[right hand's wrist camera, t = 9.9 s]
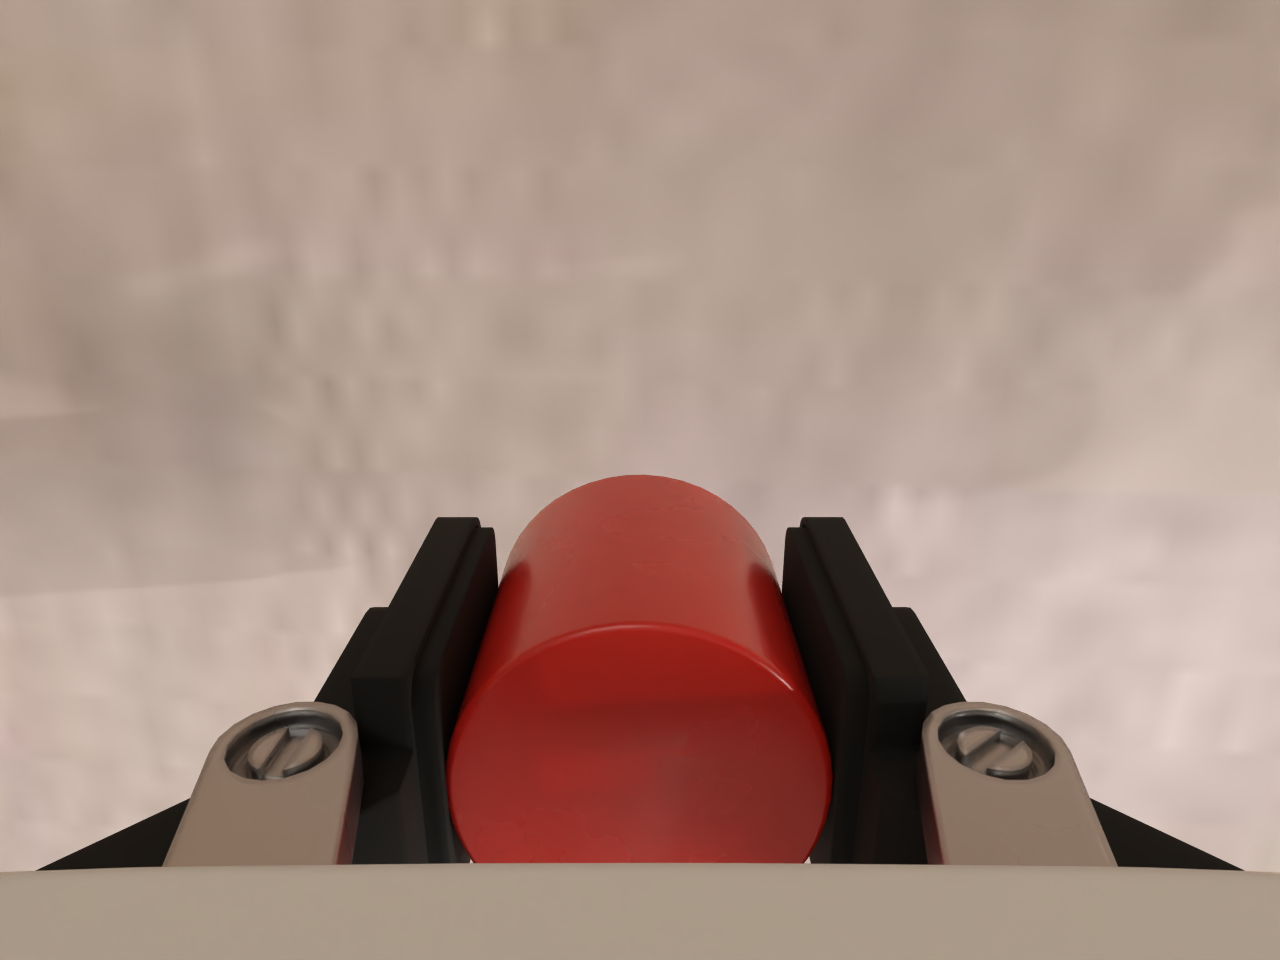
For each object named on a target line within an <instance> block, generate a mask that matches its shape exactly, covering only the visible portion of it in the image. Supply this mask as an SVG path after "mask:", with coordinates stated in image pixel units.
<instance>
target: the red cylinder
mask: <svg viewBox="0 0 1280 960" xmlns="http://www.w3.org/2000/svg"><path fill="white" fill-rule="evenodd" d="M832 786H833V767H832V757H831V752H830V748H829V744H828V740H827V737H826V733H825V730H824V727H823V724H822V720H821V717H820V714H819V711H818V708H817V705H816V701H815V698H814V695H813V692H812V689H811V686H810V682H809V679H808V676H807V673H806V670H805V666H804V663H803V660H802V657H801V654H800V651H799V647H798V644H797V641H796V638H795V635H794V632H793V628H792V625H791V622H790V619H789V616H788V612H787V609H786V606H785V603H784V600H783V597H782V593H781V590H780V587H779V584H778V581H777V578H776V574H775V571H774V568H773V565H772V562H771V559H770V557H769V555H768V552H767V550H766V548H765V546H764V544H763V542H762V541H761V539H760V537H759V536H758V534H757V533H756V531H755V530H754V529H753V527H752V526H751V525H750V524H749V523H748V521H747V520H746V519H745V518H744V517H743V516H742V515H741V514H740V513H739V512H737V511H736V510H735V509H734V508H733V507H732V506H731V505H729V504H728V503H726V502H725V501H723V500H722V499H721V498H719V497H718V496H716V495H714V494H712V493H710V492H708V491H706V490H704V489H702V488H700V487H698V486H695V485H692V484H690V483H687V482H684V481H680V480H676V479H672V478H667V477H661V476H651V475H625V476H618V477H611V478H606V479H602V480H598V481H595V482H591V483H588V484H586V485H583V486H581V487H578V488H576V489H574V490H571V491H570V492H568V493H566V494H564V495H563V496H561V497H559V498H558V499H556V500H555V501H553V502H552V503H551V504H549V505H548V506H547V507H545V508H544V509H543V510H542V511H541V512H540V513H539V514H538V515H537V516H536V517H535V518H534V519H533V520H532V521H531V522H530V523H529V524H528V525H527V527H526V528H525V529H524V531H523V532H522V533H521V535H520V536H519V537H518V539H517V541H516V543H515V545H514V547H513V548H512V550H511V552H510V555H509V558H508V561H507V563H506V566H505V569H504V572H503V575H502V578H501V582H500V585H499V588H498V591H497V594H496V597H495V600H494V604H493V607H492V610H491V613H490V616H489V619H488V622H487V626H486V629H485V632H484V635H483V638H482V641H481V644H480V648H479V651H478V654H477V657H476V660H475V663H474V666H473V670H472V673H471V676H470V679H469V682H468V685H467V688H466V692H465V695H464V698H463V701H462V704H461V707H460V710H459V714H458V717H457V720H456V723H455V726H454V729H453V732H452V736H451V739H450V742H449V747H448V752H447V757H446V787H447V797H448V807H449V812H450V815H451V819H452V822H453V826H454V829H455V831H456V833H457V835H458V837H459V839H460V841H461V844H462V846H463V848H464V849H465V851H466V852H467V854H468V855H469V857H470V858H471V860H472V861H473V863H789V864H804V862H805V861H806V860H807V859H808V857H809V855H810V854H811V852H812V850H813V848H814V847H815V845H816V843H817V842H818V840H819V837H820V835H821V832H822V830H823V827H824V825H825V822H826V819H827V816H828V812H829V807H830V803H831V798H832Z"/></svg>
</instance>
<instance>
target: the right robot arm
mask: <svg viewBox="0 0 1280 960" xmlns="http://www.w3.org/2000/svg"><path fill="white" fill-rule="evenodd" d="M497 591H498V574H497V558H496V543H495V533H494V529H493V528H481V525H480V521H479V519H478V518H477V517H438V518H437V519H436V520H435V522H434V524H433V526H432V528H431V529H430V531H429V533H428V535H427V537H426V539H425V540H424V542H423V544H422V546H421V548H420V550H419V551H418V553H417V555H416V557H415V559H414V561H413V563H412V564H411V566H410V568H409V570H408V572H407V574H406V575H405V577H404V579H403V581H402V583H401V585H400V587H399V588H398V590H397V592H396V594H395V596H394V598H393V599H392V601H391V603H390V605H389V607H373V608H370V609H369V610H368V611H367V612H366V613H365V615H364V617H363V618H362V620H361V622H360V624H359V625H358V627H357V629H356V630H355V632H354V634H353V636H352V637H351V639H350V641H349V642H348V644H347V646H346V648H345V649H344V651H343V653H342V654H341V656H340V658H339V660H338V661H337V663H336V665H335V666H334V668H333V670H332V672H331V673H330V675H329V677H328V678H327V680H326V682H325V684H324V685H323V687H322V689H321V690H320V692H319V694H318V696H317V697H316V699H315V701H314V702H295V703H289V704H284V705H279V706H274V707H271V708H268V709H266V710H263V711H260V712H257V713H254V714H252V715H250V716H248V717H247V718H245V719H243V720H241V721H239V722H238V723H236V724H234V725H233V726H232V727H230V728H229V729H228V730H227V731H226V732H225V733H223V734H222V735H221V736H220V737H219V738H218V739H217V741H216V742H215V744H214V745H213V747H212V748H211V750H210V752H209V754H208V756H207V759H206V761H205V764H204V766H203V768H202V771H201V773H200V776H199V778H198V781H197V783H196V785H195V788H194V790H193V793H192V795H191V798H189V799H187V800H185V801H183V802H181V803H179V804H177V805H175V806H172V807H170V808H168V809H166V810H164V811H162V812H160V813H158V814H155V815H153V816H151V817H149V818H147V819H145V820H143V821H140V822H138V823H136V824H134V825H132V826H130V827H128V828H126V829H123V830H121V831H119V832H117V833H115V834H113V835H111V836H109V837H106V838H104V839H102V840H100V841H98V842H96V843H94V844H91V845H89V846H87V847H85V848H83V849H81V850H79V851H77V852H74V853H72V854H70V855H68V856H66V857H64V858H62V859H60V860H57V861H55V862H53V863H51V864H49V865H47V866H45V867H42V868H40V869H38V870H36V871H19V872H0V960H1280V872H1261V871H1244V870H1242V869H1240V868H1238V867H1236V866H1234V865H1232V864H1229V863H1227V862H1225V861H1223V860H1221V859H1219V858H1217V857H1215V856H1212V855H1210V854H1208V853H1206V852H1204V851H1202V850H1200V849H1197V848H1195V847H1193V846H1191V845H1189V844H1187V843H1185V842H1183V841H1180V840H1178V839H1176V838H1174V837H1172V836H1170V835H1168V834H1166V833H1163V832H1161V831H1159V830H1157V829H1155V828H1153V827H1151V826H1149V825H1146V824H1144V823H1142V822H1140V821H1138V820H1136V819H1134V818H1131V817H1129V816H1127V815H1125V814H1123V813H1121V812H1119V811H1117V810H1114V809H1112V808H1110V807H1108V806H1106V805H1104V804H1102V803H1100V802H1097V801H1095V800H1093V799H1091V798H1089V795H1088V793H1087V790H1086V788H1085V785H1084V783H1083V781H1082V778H1081V776H1080V773H1079V771H1078V768H1077V766H1076V764H1075V761H1074V759H1073V756H1072V754H1071V752H1070V750H1069V748H1068V747H1067V745H1066V744H1065V742H1064V741H1063V739H1062V738H1061V737H1060V736H1059V735H1058V734H1057V733H1055V732H1054V731H1053V730H1052V729H1051V728H1050V727H1048V726H1047V725H1046V724H1044V723H1042V722H1041V721H1039V720H1037V719H1035V718H1033V717H1032V716H1030V715H1028V714H1026V713H1023V712H1020V711H1017V710H1014V709H1012V708H1009V707H1006V706H1001V705H996V704H991V703H985V702H966V700H965V698H964V696H963V695H962V693H961V691H960V690H959V688H958V686H957V684H956V683H955V681H954V679H953V678H952V676H951V674H950V672H949V671H948V669H947V667H946V666H945V664H944V662H943V660H942V659H941V657H940V655H939V654H938V652H937V650H936V648H935V647H934V645H933V643H932V642H931V640H930V638H929V636H928V635H927V633H926V631H925V630H924V628H923V626H922V624H921V623H920V621H919V619H918V618H917V616H916V614H915V613H914V611H913V610H912V609H911V608H908V607H892V606H891V604H890V602H889V600H888V598H887V597H886V595H885V593H884V591H883V589H882V587H881V586H880V584H879V582H878V580H877V578H876V576H875V574H874V573H873V571H872V569H871V567H870V565H869V563H868V562H867V560H866V558H865V556H864V554H863V552H862V550H861V549H860V547H859V545H858V543H857V541H856V539H855V538H854V536H853V534H852V532H851V530H850V528H849V526H848V525H847V523H846V521H845V519H844V518H843V517H804V518H802V520H801V523H800V527H789V528H787V531H786V537H785V551H784V567H783V582H782V597H783V600H784V603H785V606H786V609H787V612H788V616H789V619H790V622H791V625H792V628H793V632H794V635H795V638H796V641H797V644H798V647H799V651H800V654H801V657H802V660H803V663H804V666H805V670H806V673H807V676H808V679H809V682H810V686H811V689H812V692H813V695H814V698H815V701H816V705H817V708H818V711H819V714H820V717H821V720H822V724H823V727H824V730H825V733H826V737H827V740H828V744H829V748H830V752H831V757H832V767H833V786H832V798H831V803H830V807H829V812H828V816H827V819H826V822H825V825H824V827H823V830H822V832H821V835H820V837H819V840H818V842H817V843H816V845H815V847H814V848H813V850H812V852H811V854H810V855H809V857H810V861H811V864H789V863H470V859H471V858H470V857H469V855H468V854H467V852H466V851H465V849H464V848H463V846H462V844H461V841H460V839H459V837H458V835H457V833H456V831H455V829H454V826H453V822H452V819H451V815H450V812H449V807H448V797H447V787H446V757H447V752H448V747H449V742H450V739H451V736H452V732H453V729H454V726H455V723H456V720H457V717H458V714H459V710H460V707H461V704H462V701H463V698H464V695H465V692H466V688H467V685H468V682H469V679H470V676H471V673H472V670H473V666H474V663H475V660H476V657H477V654H478V651H479V648H480V644H481V641H482V638H483V635H484V632H485V629H486V626H487V622H488V619H489V616H490V613H491V610H492V607H493V604H494V600H495V597H496V594H497Z"/></svg>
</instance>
